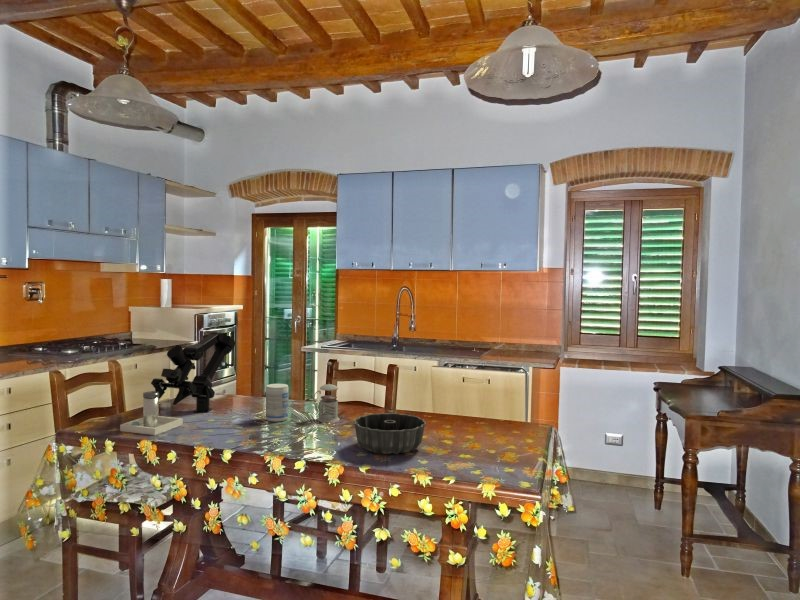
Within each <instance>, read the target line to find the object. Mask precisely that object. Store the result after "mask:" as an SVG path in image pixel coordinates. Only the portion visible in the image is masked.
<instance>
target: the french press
mask: <svg viewBox="0 0 800 600" xmlns="http://www.w3.org/2000/svg"><path fill="white" fill-rule="evenodd" d="M326 364H327V365H328V372H330V367H331V366H332V362H331V361H328V362H327V363H326ZM319 389H320V390H317V391H316V392H314V395H313V397H312V403H313V405H314V406H315V407H316V408H317V409H318V418H316V419H317V421H318V422H321V423H336V422H339V421H340V420H341V419H340V417H339V416H338V412H339V411H338V408H339V407H338V406H339V405H338V402H339V400H338V399H337V398H338V396H337V395H330V394H328V395H322V396H320V400H319V405H317V404H316V402H315V396H316V394H318V393H319V395H321V391H328V392H332V391H337V390H339V387H338V385H334V384H330V383H326V384H323V385H321V386H320V387H319Z"/></svg>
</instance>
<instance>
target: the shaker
mask: <svg viewBox="0 0 800 600" xmlns="http://www.w3.org/2000/svg"><path fill="white" fill-rule="evenodd" d="M142 398H143V401H142V402H143V403H142V405H143V406H142V409H143V410H142V412H143V413H142V414H143V416H142V417H143V427H152V428H156V427H158V417H159V416H160V414H159V412H160V411H159V409H160V405H159V403H160V399H159V392H157V391H155V390H154V391H153V390H152V391H144V392H143V393H142Z"/></svg>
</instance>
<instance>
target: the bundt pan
mask: <svg viewBox="0 0 800 600" xmlns="http://www.w3.org/2000/svg"><path fill="white" fill-rule="evenodd" d="M426 425H427V423H426V421H425V419H423V418H420V417H419V416H416V415H411V414H410V415H409V414H405V413H404V414H402V413H395V412H391V413H390V412H389V413H383V412H382V413H369V414H365V415H360V416H358V418H355V419H353V426H354V427H355V434H356V441H357V443H358V445H359V447H361V448H363V449H365V451H369V452H373V453H375V454H380V453H382V454H383V455H390V454H394V455H398V454H399V453H401V454H405V453H409V452H413V451H415V450H416V449H418V447H419V446H420V445H421V443H422V441H423V436H424V431H425V426H426Z"/></svg>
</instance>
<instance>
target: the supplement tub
mask: <svg viewBox="0 0 800 600" xmlns="http://www.w3.org/2000/svg"><path fill="white" fill-rule="evenodd" d="M288 419H289V385H288V384H286V383H270V384H267V385H266V386H265V420H266V421H268V422H273V423H274V422H276V423H277V422H284V421H287V420H288Z"/></svg>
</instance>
